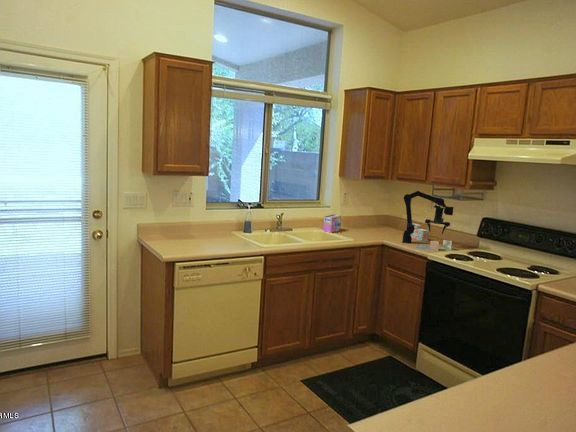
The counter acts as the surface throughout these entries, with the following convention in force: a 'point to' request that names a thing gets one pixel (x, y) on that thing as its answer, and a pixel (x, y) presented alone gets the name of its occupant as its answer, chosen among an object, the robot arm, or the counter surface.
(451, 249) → the teal pad
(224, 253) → the counter surface
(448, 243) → the maple block
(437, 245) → the terracotta block
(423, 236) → the stack of blocks
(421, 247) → the card
